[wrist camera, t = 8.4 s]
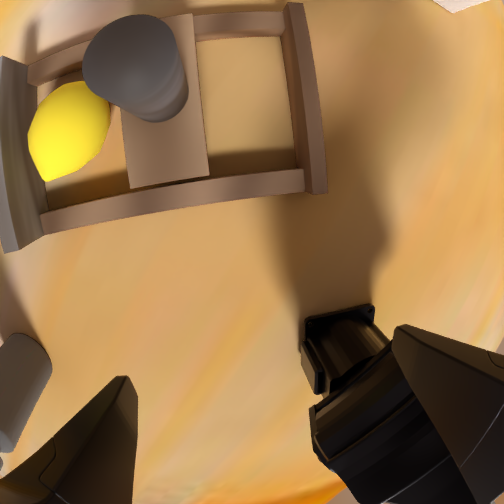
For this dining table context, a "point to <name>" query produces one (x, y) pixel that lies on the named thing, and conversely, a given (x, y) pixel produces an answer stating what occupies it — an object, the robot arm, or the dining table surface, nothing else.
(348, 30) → the dining table surface
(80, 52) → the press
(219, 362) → the dining table surface
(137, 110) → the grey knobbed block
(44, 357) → the bottle
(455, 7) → the milk carton
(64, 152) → the lemon
